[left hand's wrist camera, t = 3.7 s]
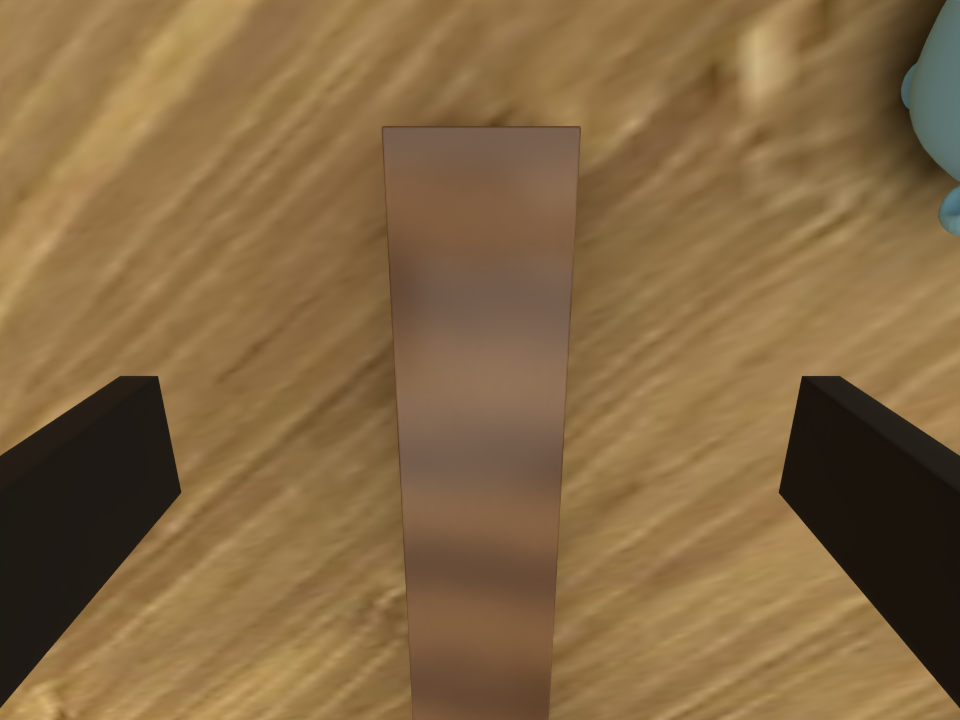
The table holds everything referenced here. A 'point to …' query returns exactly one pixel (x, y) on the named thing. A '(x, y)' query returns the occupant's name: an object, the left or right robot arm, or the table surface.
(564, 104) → the table surface
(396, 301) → the bar
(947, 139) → the teapot
